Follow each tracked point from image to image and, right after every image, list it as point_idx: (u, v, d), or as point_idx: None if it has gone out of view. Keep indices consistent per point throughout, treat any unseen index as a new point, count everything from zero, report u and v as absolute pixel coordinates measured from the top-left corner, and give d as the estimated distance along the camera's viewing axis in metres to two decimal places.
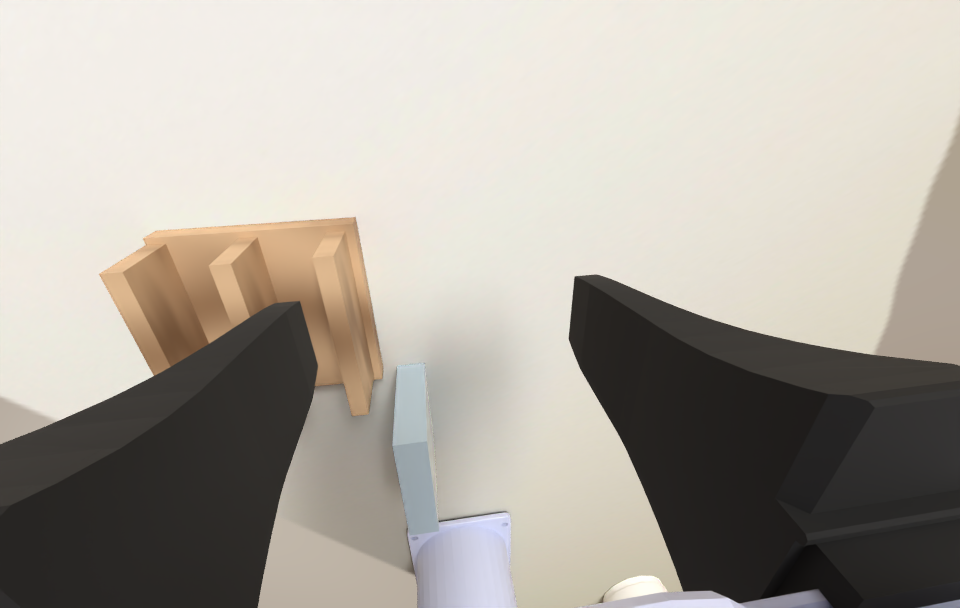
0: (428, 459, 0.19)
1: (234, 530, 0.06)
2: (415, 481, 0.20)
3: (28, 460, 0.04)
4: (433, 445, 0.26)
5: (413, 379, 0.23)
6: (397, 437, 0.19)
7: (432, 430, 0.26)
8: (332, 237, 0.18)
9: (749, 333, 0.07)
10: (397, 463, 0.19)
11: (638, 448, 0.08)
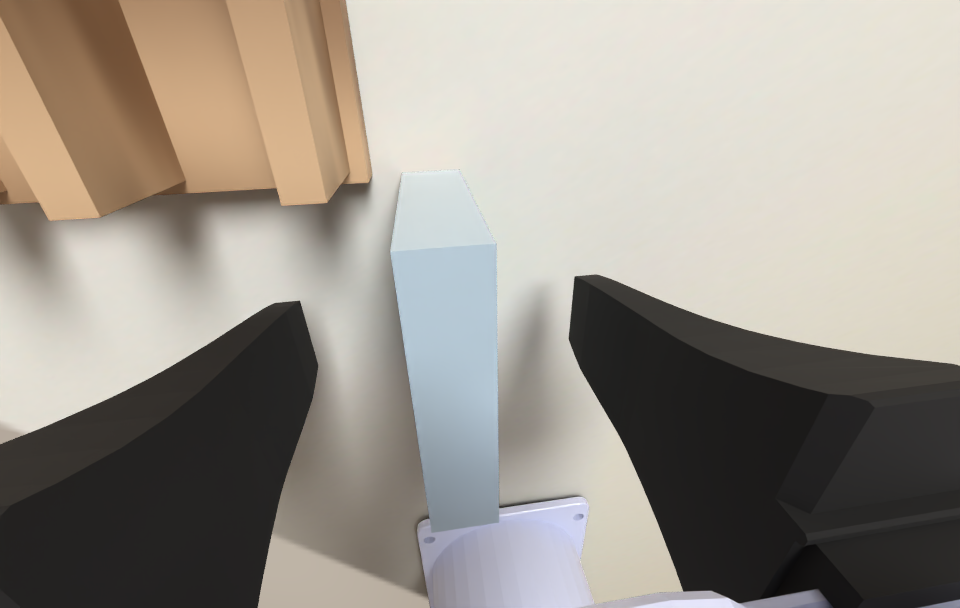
0: (493, 313, 0.07)
1: (234, 530, 0.06)
2: (452, 385, 0.07)
3: (28, 460, 0.04)
4: None
5: (439, 181, 0.10)
6: (405, 239, 0.06)
7: None
8: None
9: (749, 333, 0.07)
10: (405, 320, 0.07)
11: (638, 448, 0.08)
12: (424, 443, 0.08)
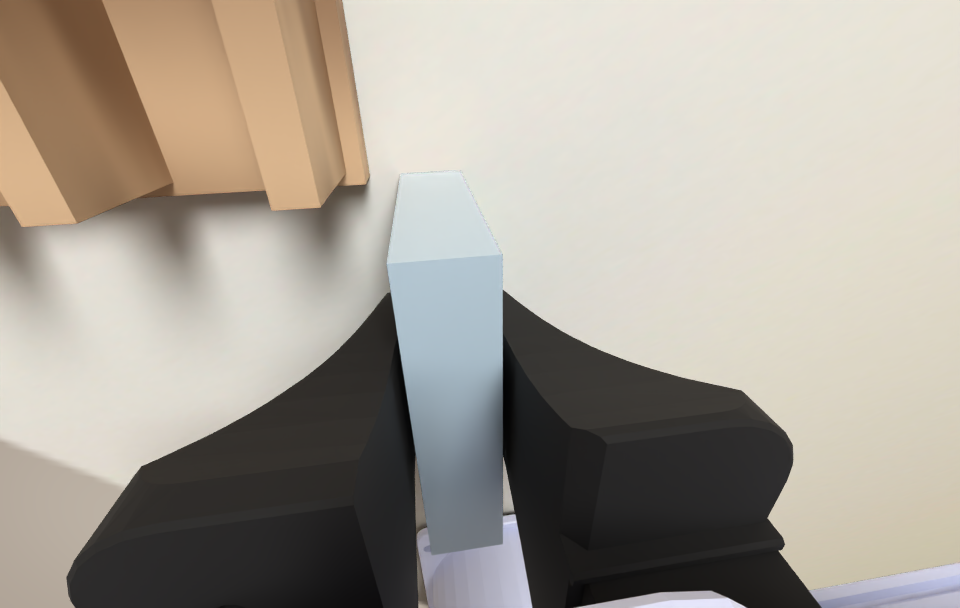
0: (499, 328, 0.06)
1: (406, 505, 0.07)
2: (454, 404, 0.07)
3: (299, 427, 0.04)
4: None
5: (439, 183, 0.10)
6: (403, 249, 0.06)
7: None
8: None
9: (590, 350, 0.06)
10: (403, 337, 0.06)
11: (509, 466, 0.08)
12: (424, 465, 0.07)
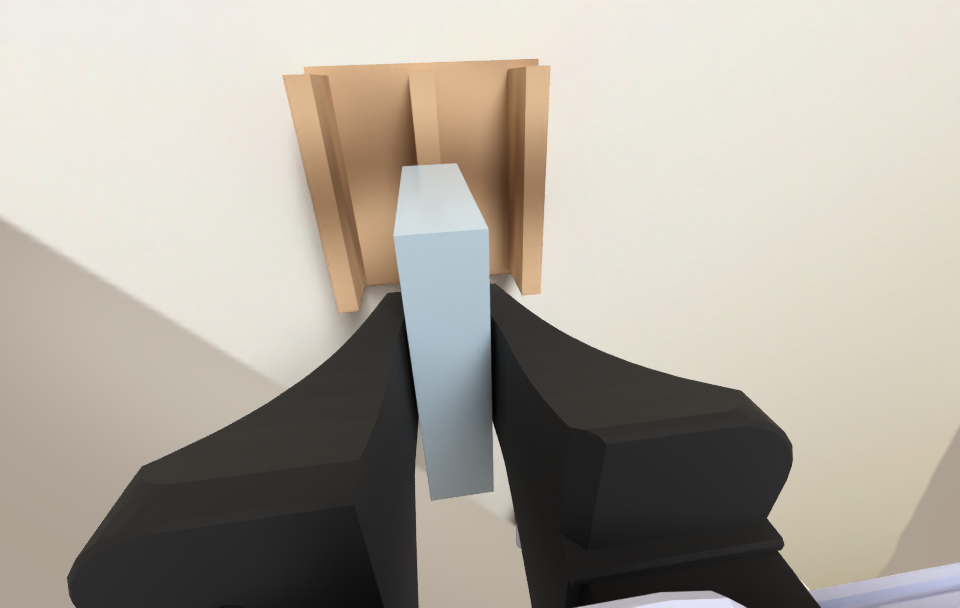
0: (486, 292, 0.07)
1: (407, 505, 0.07)
2: (449, 360, 0.08)
3: (300, 427, 0.04)
4: None
5: (437, 174, 0.11)
6: (407, 225, 0.07)
7: None
8: None
9: (590, 350, 0.06)
10: (406, 299, 0.07)
11: (509, 466, 0.08)
12: (424, 414, 0.09)
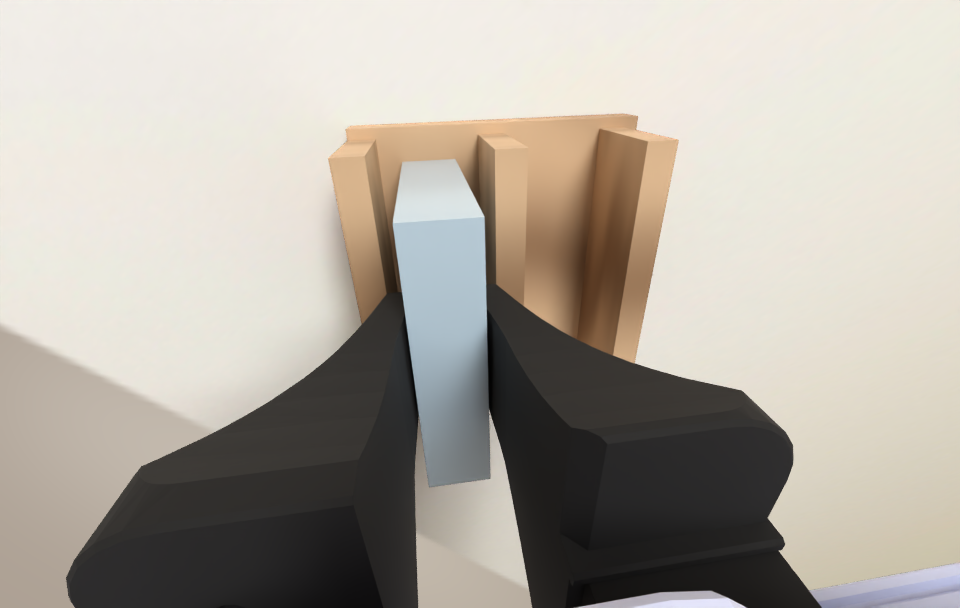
0: (483, 279, 0.08)
1: (406, 505, 0.07)
2: (447, 347, 0.08)
3: (299, 428, 0.04)
4: None
5: (436, 169, 0.11)
6: (406, 214, 0.07)
7: None
8: (623, 130, 0.12)
9: (590, 350, 0.06)
10: (405, 286, 0.08)
11: (509, 466, 0.08)
12: (422, 400, 0.09)
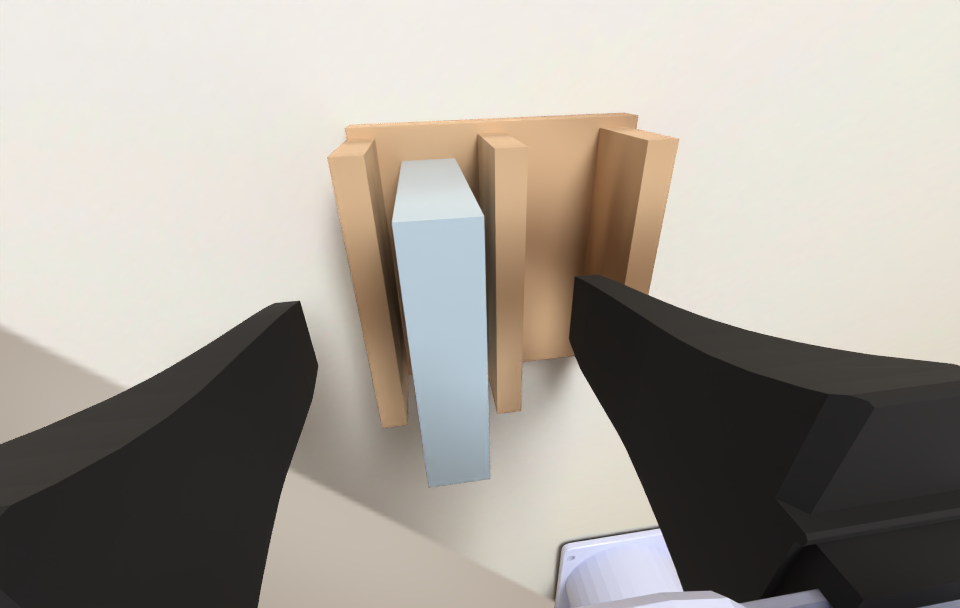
0: (482, 279, 0.08)
1: (234, 530, 0.06)
2: (447, 346, 0.08)
3: (28, 460, 0.04)
4: None
5: (435, 168, 0.11)
6: (405, 213, 0.07)
7: None
8: (624, 129, 0.12)
9: (749, 333, 0.07)
10: (404, 285, 0.08)
11: (638, 448, 0.08)
12: (421, 400, 0.09)
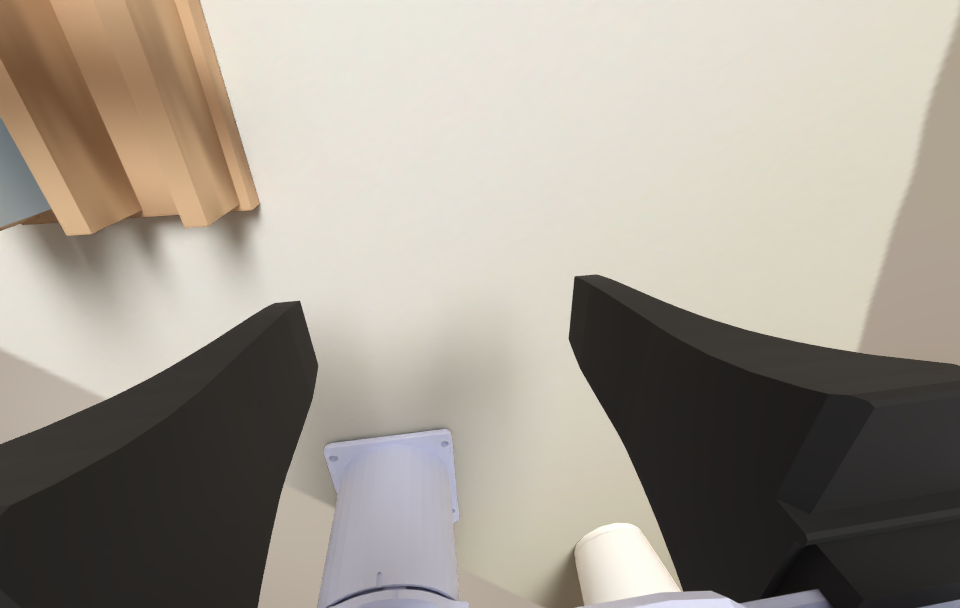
0: None
1: (234, 530, 0.06)
2: None
3: (28, 460, 0.04)
4: None
5: None
6: None
7: None
8: None
9: (749, 333, 0.07)
10: None
11: (638, 448, 0.08)
12: None
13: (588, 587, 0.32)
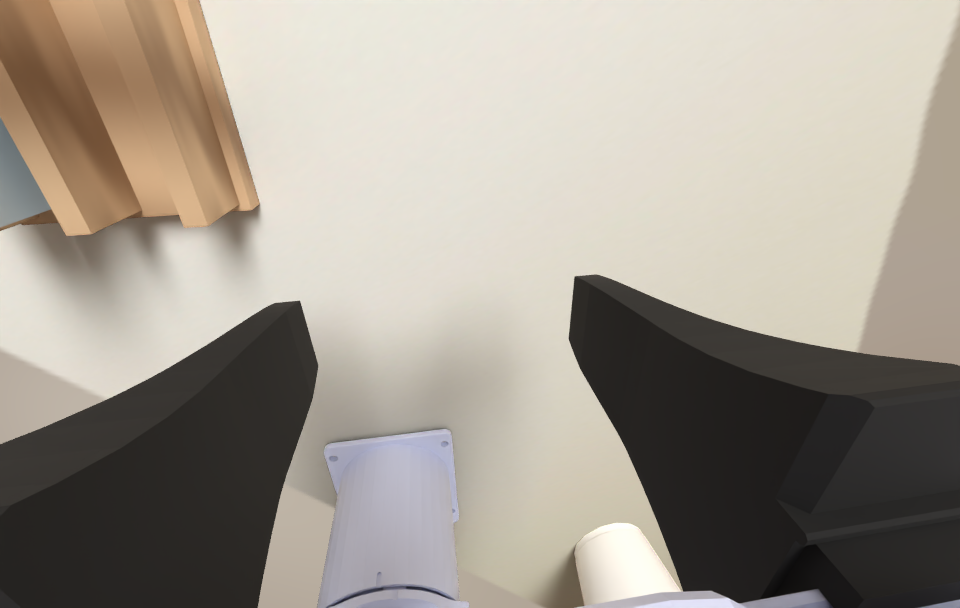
0: None
1: (234, 530, 0.06)
2: None
3: (28, 460, 0.04)
4: None
5: None
6: None
7: None
8: None
9: (749, 333, 0.07)
10: None
11: (638, 448, 0.08)
12: None
13: (588, 587, 0.32)
